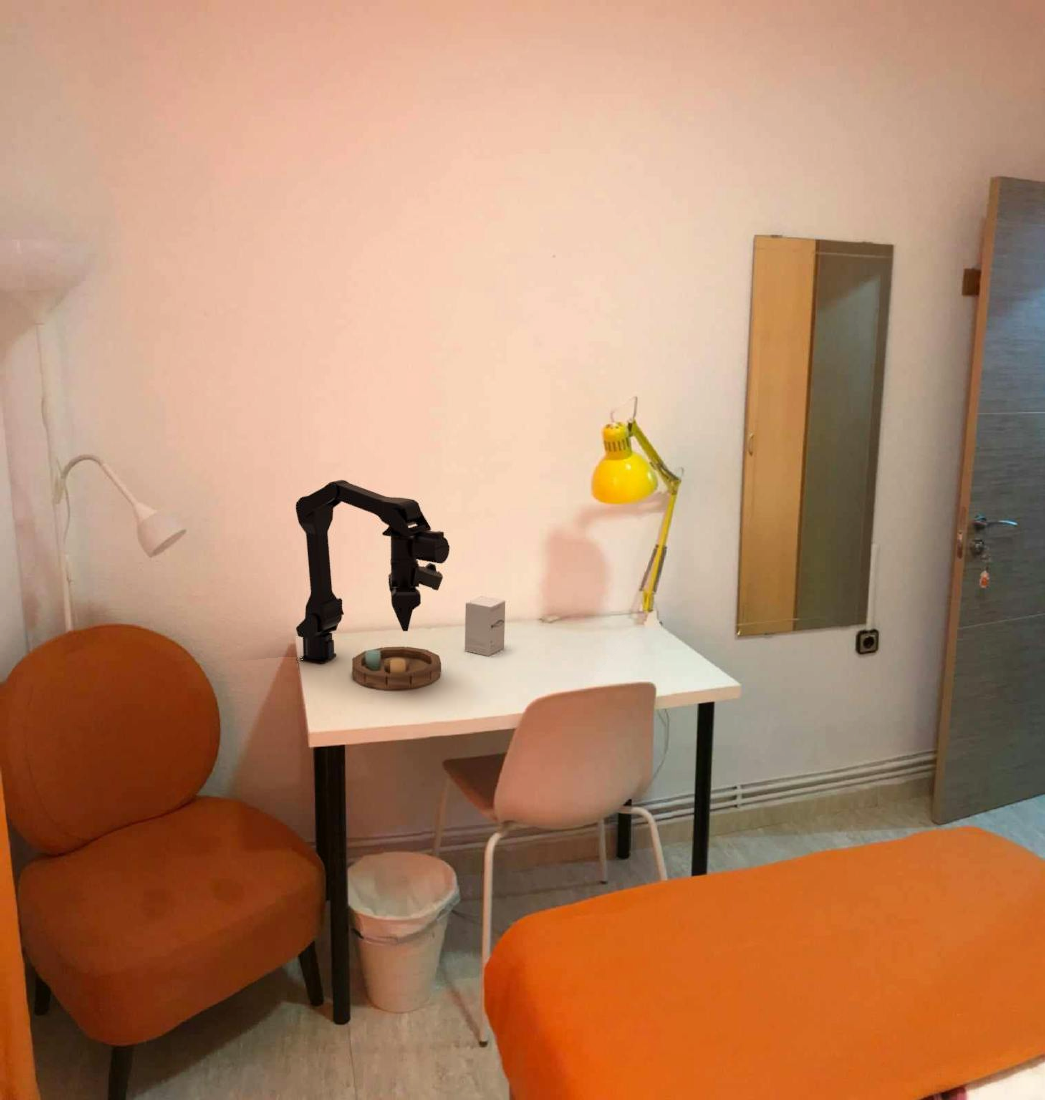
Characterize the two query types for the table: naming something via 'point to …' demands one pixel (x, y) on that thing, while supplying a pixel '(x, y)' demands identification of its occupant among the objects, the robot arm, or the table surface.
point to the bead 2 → (397, 666)
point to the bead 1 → (373, 660)
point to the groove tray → (418, 674)
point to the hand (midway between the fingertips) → (404, 624)
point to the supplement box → (484, 625)
